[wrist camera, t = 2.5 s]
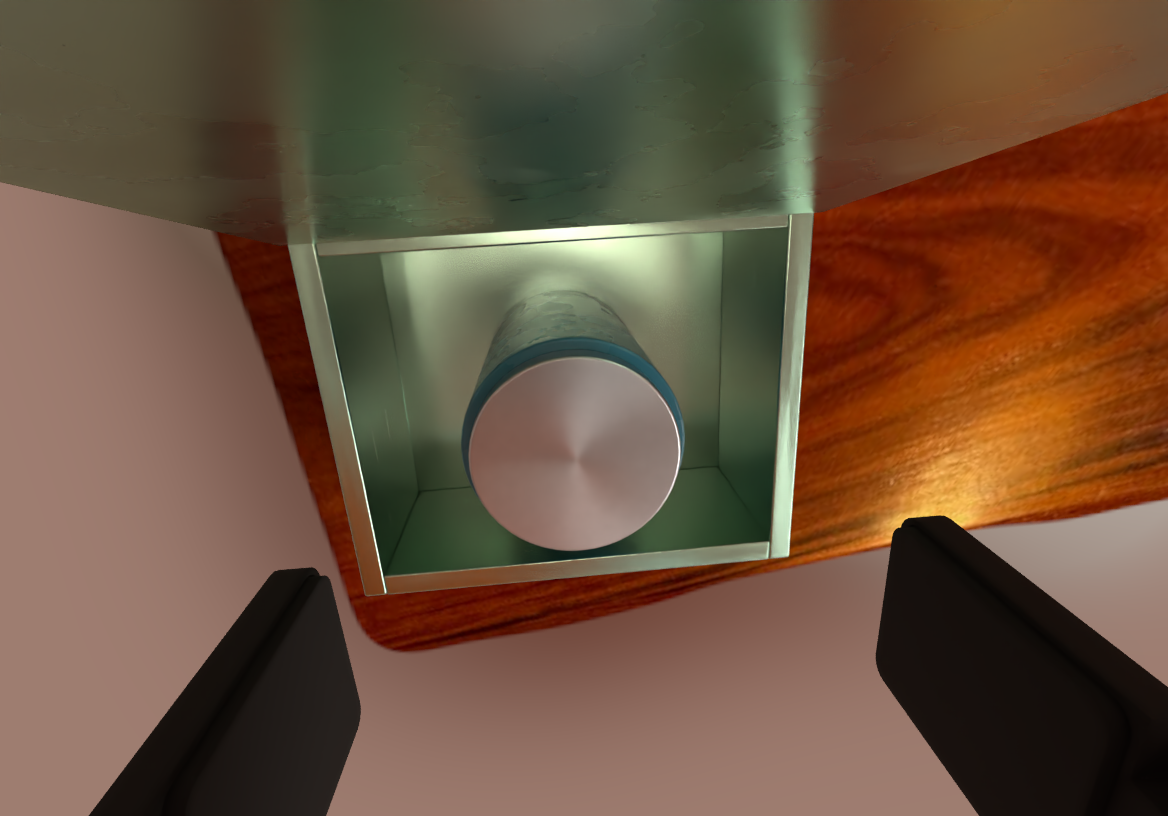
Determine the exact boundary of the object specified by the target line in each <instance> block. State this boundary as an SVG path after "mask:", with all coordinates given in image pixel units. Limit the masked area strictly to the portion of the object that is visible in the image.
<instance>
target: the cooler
mask: <svg viewBox="0 0 1168 816" xmlns="http://www.w3.org/2000/svg"><path fill="white" fill-rule="evenodd" d="M813 220H814V213H799V214H783V215H767V216H751V217H735V218H719V219H702V220H686V221H670V222H654V223H638V224H622V225H606V226H590V227H574V228H558V229H542V230H526V231H509V232H493V233H477V234H461V235H445V236H429V237H413V238H397V239H381V240H365V241H349V242H332V243H316V244H300V245H288V249H289V253H290V258H291V262H292V267H293V271H294V276H295V280H296V285H297V290H298V294H299V299H300V303H301V308H302V312H303V317H304V321H305V326H306V330H307V335H308V339H309V344H310V348H311V353H312V357H313V362H314V366H315V371H316V375H317V380H318V384H319V389H320V393H321V398H322V402H323V407H324V411H325V416H326V421H327V425H328V430H329V434H330V439H331V443H332V448H333V452H334V457H335V461H336V466H337V470H338V475H339V479H340V484H341V488H342V493H343V497H344V502H345V506H346V511H347V515H348V520H349V524H350V529H351V533H352V538H353V542H354V547H355V551H356V556H357V561H358V565H359V570H360V574H361V579H362V583H363V588H364V592H365V595H366V596H374V595H385V594H387V593H388V594H398V593H409V592H420V591H431V590H441V589H452V588H463V587H474V586H485V585H495V584H506V583H517V582H528V581H539V580H549V579H560V578H571V577H582V576H593V575H603V574H614V573H625V572H636V571H647V570H657V569H668V568H679V567H690V566H701V565H711V564H722V563H733V562H744V561H755V560H765V559H768V558H769V559H774V558H784V557H789V548H790V534H791V521H792V507H793V493H794V480H795V466H796V452H797V439H798V425H799V411H800V398H801V384H802V370H803V357H804V343H805V329H806V316H807V302H808V288H809V275H810V261H811V247H812V234H813ZM555 291H570V292H577V293H581V294H585V295H588V296H590V297H593V298H595V299H597V300H599V301H600V302H602V303H604V304H605V305H607V306H608V307H609V308H610V309H612V310H613V311H614V312H615V313H616V314H617V315H618V316H619V318H620V319H621V320H622V322H623V323H624V324H625V326H626V327H627V328H628V330H629V331H630V333H631V334H632V335H633V337H634V338H635V339H636V341H637V342H638V344H639V345H640V346H641V348H642V349H643V350H644V352H645V353H646V354H647V356H648V357H649V359H650V360H651V361H652V363H653V364H654V365H655V367H656V368H657V370H658V371H659V372H660V374H661V375H662V376H663V378H664V379H665V381H666V382H667V383H668V385H669V386H670V388H671V390H672V391H673V393H674V395H675V397H676V399H677V402H678V404H679V407H680V410H681V413H682V418H683V423H684V432H685V444H684V454H683V458H682V463H681V466H680V469H679V472H678V475H677V478H676V481H675V483H674V486H673V488H672V490H671V492H670V494H669V496H668V498H667V500H666V501H665V503H664V504H663V506H662V507H661V508H660V510H659V511H658V512H657V513H656V514H655V515H654V516H653V518H652V519H651V520H649V521H648V522H647V523H646V524H645V525H644V526H643V527H641V528H640V529H638V530H637V531H636V532H634V533H633V534H631V535H629V536H627V537H625V538H624V539H622V540H620V541H617V542H615V543H612V544H609V545H606V546H603V547H599V548H595V549H588V550H579V551H565V550H555V549H550V548H545V547H541V546H538V545H535V544H532V543H530V542H527V541H525V540H523V539H521V538H519V537H517V536H516V535H514V534H512V533H511V532H509V531H508V530H507V529H505V528H504V527H503V526H502V525H500V524H499V523H498V522H497V521H496V520H495V519H494V518H493V517H492V515H491V514H490V513H489V512H488V511H487V509H486V508H485V506H484V505H483V504H482V502H481V501H480V499H479V498H478V497H477V495H476V494H475V492H474V490H473V488H472V486H471V485H470V483H469V480H468V477H467V475H466V472H465V469H464V464H463V460H462V452H461V434H462V426H463V422H464V417H465V414H466V411H467V408H468V405H469V403H470V400H471V397H472V394H473V392H474V389H475V386H476V383H477V381H478V378H479V375H480V372H481V370H482V367H483V364H484V361H485V359H486V356H487V353H488V350H489V348H490V345H491V342H492V339H493V337H494V334H495V332H496V330H497V329H498V327H499V325H500V324H501V322H502V321H503V320H504V318H505V317H506V316H507V315H508V314H509V313H510V312H511V311H512V310H513V309H514V308H516V307H517V306H518V305H519V304H521V303H523V302H524V301H526V300H528V299H530V298H532V297H534V296H537V295H540V294H544V293H548V292H555Z"/></svg>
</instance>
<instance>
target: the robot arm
mask: <svg viewBox="0 0 1168 816" xmlns="http://www.w3.org/2000/svg"><path fill="white" fill-rule="evenodd" d="M876 664H877V668H878V671H879V673H880V676H881V677H882V679H883V681H884V682H885V684H886V685H887V686H888V688H889V689H890V691H891V692H892V694H893V695H894V696H895V698H896V699H897V701H898V702H899V703H900V705H901V706H902V708H903V709H904V710H905V711H906V713H907V715H908V716H909V717H910V719H911V720H912V722H913V723H914V724H915V726H916V727H917V729H918V730H919V732H920V733H921V734H922V736H923V737H924V739H925V740H926V741H927V743H928V744H929V746H930V747H931V749H932V750H933V751H934V753H935V754H936V756H937V757H938V758H939V760H940V761H941V763H942V764H943V765H944V766H945V768H946V770H947V771H948V772H949V774H950V775H951V777H952V778H953V780H954V781H955V782H956V783H957V785H958V787H959V788H960V789H961V791H962V792H963V794H964V795H965V796H966V798H967V799H968V801H969V802H970V803H971V805H972V806H973V808H974V809H975V811H976V812H977V813H978V815H979V816H1168V687H1167V686H1166V685H1164V684H1163V683H1162V682H1160V681H1159V680H1158V679H1156V678H1155V677H1154V676H1153V675H1151V674H1150V673H1149V672H1148V671H1146V670H1145V669H1144V668H1142V667H1141V666H1140V665H1138V664H1137V663H1136V662H1135V661H1133V660H1132V659H1131V658H1129V657H1128V656H1127V655H1126V654H1124V653H1123V652H1122V651H1120V650H1119V649H1118V648H1117V647H1115V646H1114V645H1113V644H1111V643H1110V642H1109V641H1107V640H1106V639H1105V638H1104V637H1102V636H1101V635H1100V634H1098V633H1097V632H1096V631H1095V630H1093V629H1092V628H1091V627H1089V626H1088V625H1087V624H1085V623H1084V622H1083V621H1082V620H1080V619H1079V618H1078V617H1076V616H1075V615H1074V614H1073V613H1071V612H1070V611H1069V610H1067V609H1066V608H1065V607H1063V606H1062V605H1061V604H1060V603H1058V602H1057V601H1056V600H1054V599H1053V598H1052V597H1051V596H1049V595H1048V594H1047V593H1045V592H1044V591H1043V590H1042V589H1040V588H1039V587H1037V586H1036V585H1035V584H1034V583H1032V582H1031V581H1030V580H1029V579H1027V578H1026V577H1025V576H1023V575H1022V574H1021V573H1019V572H1018V571H1017V570H1016V569H1014V568H1013V567H1012V566H1010V565H1009V564H1008V563H1006V562H1005V561H1004V560H1003V559H1001V558H1000V557H999V556H997V555H996V554H995V553H994V552H992V551H991V550H990V549H988V548H987V547H986V546H985V545H983V544H982V543H981V542H979V541H978V540H977V539H976V538H974V537H973V536H972V535H970V534H969V533H968V532H967V531H965V530H964V529H963V528H961V527H960V526H959V525H957V524H956V523H955V522H954V521H952V520H951V519H949V518H948V517H946V516H929V517H917V518H908V519H906V520H905V521H904V522H903V524H902V526H901V528H897V529H896V530H895V531H894V533H893V537H892V543H891V550H890V558H889V565H888V572H887V579H886V586H885V593H884V600H883V607H882V614H881V621H880V629H879V635H878V642H877V650H876ZM360 707H361V706H360V700H359V696H358V692H357V688H356V684H355V679H354V675H353V671H352V667H351V663H350V659H349V655H348V651H347V647H346V643H345V639H344V634H343V630H342V626H341V622H340V618H339V614H338V610H337V606H336V602H335V598H334V593H333V589H332V586H331V582H330V579H329V578H328V577H327V576H320V575H319V573H318V571H317V570H316V569H315V568H299V569H287V570H278V571H275V572H273V574H271V575H270V577H269V578H268V579H267V581H266V582H265V583H264V585H263V586H262V587H261V589H260V590H259V591H258V593H257V594H256V595H255V597H254V598H253V599H252V601H251V602H250V603H249V604H248V606H247V607H246V608H245V610H244V611H243V612H242V614H241V615H240V616H239V618H238V619H237V621H236V622H235V623H234V624H233V626H232V627H231V628H230V630H229V631H228V632H227V634H226V635H225V636H224V638H223V639H222V640H221V642H220V643H219V644H218V645H217V647H216V648H215V650H214V651H213V652H212V653H211V655H210V656H209V657H208V659H207V660H206V661H205V663H204V664H203V665H202V667H201V668H200V669H199V671H198V672H197V673H196V675H195V676H194V677H193V679H192V680H191V681H190V682H189V684H188V685H187V687H186V688H185V689H184V691H183V692H182V693H181V695H180V696H179V697H178V698H177V700H176V701H175V702H174V704H173V705H172V706H171V708H170V709H169V710H168V712H167V713H166V714H165V716H164V717H163V718H162V720H161V721H160V722H159V724H158V725H157V726H156V727H155V729H154V730H153V731H152V733H151V734H150V736H149V737H148V738H147V739H146V741H145V742H144V743H143V745H142V746H141V748H140V749H139V750H138V751H137V753H136V754H135V755H134V757H133V758H132V759H131V761H130V762H129V763H128V764H127V766H126V767H125V768H124V770H123V771H122V773H121V774H120V775H119V776H118V778H117V779H116V781H115V782H114V783H113V784H112V786H111V787H110V788H109V790H108V791H107V792H106V794H105V795H104V796H103V798H102V799H101V800H100V802H99V803H98V804H97V805H96V807H95V808H94V809H93V811H92V812H91V813H90V815H89V816H326V814H327V812H328V809H329V806H330V803H331V801H332V798H333V795H334V793H335V790H336V787H337V784H338V781H339V779H340V776H341V773H342V771H343V768H344V765H345V762H346V760H347V757H348V754H349V752H350V749H351V746H352V743H353V741H354V738H355V735H356V732H357V730H358V726H359V722H360V714H361V708H360Z"/></svg>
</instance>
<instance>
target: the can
mask: <svg viewBox="0 0 1168 816" xmlns="http://www.w3.org/2000/svg"><path fill="white" fill-rule="evenodd" d="M684 444H685V432H684V423H683V418H682V413H681V410H680V407H679V404H678V402H677V399H676V397H675V395H674V393H673V391H672V390H671V388H670V386H669V385H668V383H667V382H666V381H665V379H664V378H663V376H662V375H661V374H660V372H659V371H658V370H657V368H656V367H655V365H654V364H653V363H652V361H651V360H650V359H649V357H648V356H647V354H646V353H645V352H644V350H643V349H642V348H641V346H640V345H639V344H638V342H637V341H636V339H635V338H634V337H633V335H632V334H631V333H630V331H629V330H628V328H627V327H626V326H625V324H624V323H623V322H622V320H621V319H620V318H619V316H618V315H617V314H616V313H615V312H614V311H613V310H612V309H610V308H609V307H608V306H607V305H605V304H604V303H602V302H600V301H599V300H597V299H595V298H593V297H590V296H588V295H585V294H581V293H577V292H570V291H555V292H548V293H544V294H540V295H537V296H534V297H532V298H530V299H528V300H526V301H524V302H523V303H521V304H519V305H518V306H517V307H516V308H514V309H513V310H512V311H511V312H510V313H509V314H508V315H507V316H506V317H505V318H504V320H503V321H502V322H501V324H500V325H499V327H498V329H497V330H496V332H495V334H494V337H493V339H492V342H491V345H490V348H489V350H488V353H487V356H486V359H485V361H484V364H483V367H482V370H481V372H480V375H479V378H478V381H477V383H476V386H475V389H474V392H473V394H472V397H471V400H470V403H469V405H468V408H467V411H466V414H465V417H464V422H463V426H462V434H461V452H462V460H463V464H464V469H465V472H466V475H467V477H468V480H469V483H470V485H471V486H472V488H473V490H474V492H475V494H476V495H477V497H478V498H479V499H480V501H481V502H482V504H483V505H484V506H485V508H486V509H487V511H488V512H489V513H490V514H491V515H492V517H493V518H494V519H495V520H496V521H497V522H498V523H499V524H500V525H502V526H503V527H504V528H505V529H507V530H508V531H509V532H511V533H512V534H514V535H516V536H517V537H519V538H521V539H523V540H525V541H527V542H530V543H532V544H535V545H538V546H541V547H545V548H550V549H555V550H565V551H579V550H588V549H595V548H599V547H603V546H606V545H609V544H612V543H615V542H617V541H620V540H622V539H624V538H625V537H627V536H629V535H631V534H633V533H634V532H636V531H637V530H638V529H640V528H641V527H643V526H644V525H645V524H646V523H647V522H648V521H649V520H651V519H652V518H653V516H654V515H655V514H656V513H657V512H658V511H659V510H660V508H661V507H662V506H663V504H664V503H665V501H666V500H667V498H668V496H669V494H670V492H671V490H672V488H673V486H674V483H675V481H676V478H677V475H678V472H679V469H680V466H681V463H682V458H683V454H684Z"/></svg>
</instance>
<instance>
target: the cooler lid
mask: <svg viewBox="0 0 1168 816" xmlns="http://www.w3.org/2000/svg"><path fill="white" fill-rule="evenodd" d="M1166 93H1168V0H0V182H2V183H7V184H12V185H16V186H20V187H24V188H29V189H33V190H38V191H42V192H46V193H51V194H55V195H59V196H64V197H68V198H73V199H77V200H81V201H86V202H90V203H94V204H99V205H103V206H108V207H112V208H117V209H121V210H126V211H130V212H134V213H138V214H143V215H147V216H151V217H156V218H160V219H165V220H169V221H173V222H178V223H182V224H186V225H191V226H195V227H200V228H204V229H208V230H213V231H217V232H222V233H226V234H230V235H235V236H239V237H243V238H248V239H252V240H257V241H261V242H265V243H270V244H274V245H279V246H284V245H300V244H316V243H332V242H349V241H365V240H381V239H397V238H413V237H429V236H445V235H461V234H477V233H493V232H509V231H526V230H542V229H558V228H574V227H590V226H606V225H622V224H638V223H654V222H670V221H686V220H702V219H719V218H735V217H751V216H767V215H783V214H799V213H815V212H824V211H827V210H830V209H833V208H835V207H838V206H841V205H844V204H847V203H850V202H853V201H856V200H859V199H862V198H864V197H867V196H870V195H873V194H876V193H879V192H882V191H885V190H888V189H890V188H893V187H896V186H899V185H902V184H905V183H908V182H911V181H914V180H917V179H919V178H922V177H925V176H928V175H931V174H934V173H937V172H940V171H943V170H946V169H948V168H951V167H954V166H957V165H960V164H963V163H966V162H969V161H972V160H974V159H977V158H980V157H983V156H986V155H989V154H992V153H995V152H998V151H1001V150H1003V149H1006V148H1009V147H1012V146H1015V145H1018V144H1021V143H1024V142H1027V141H1029V140H1032V139H1035V138H1038V137H1041V136H1044V135H1047V134H1050V133H1053V132H1056V131H1058V130H1061V129H1064V128H1067V127H1070V126H1073V125H1076V124H1079V123H1082V122H1085V121H1087V120H1090V119H1093V118H1096V117H1099V116H1102V115H1105V114H1108V113H1111V112H1113V111H1116V110H1119V109H1122V108H1125V107H1128V106H1131V105H1134V104H1137V103H1140V102H1142V101H1145V100H1148V99H1151V98H1154V97H1157V96H1160V95H1163V94H1166Z"/></svg>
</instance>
